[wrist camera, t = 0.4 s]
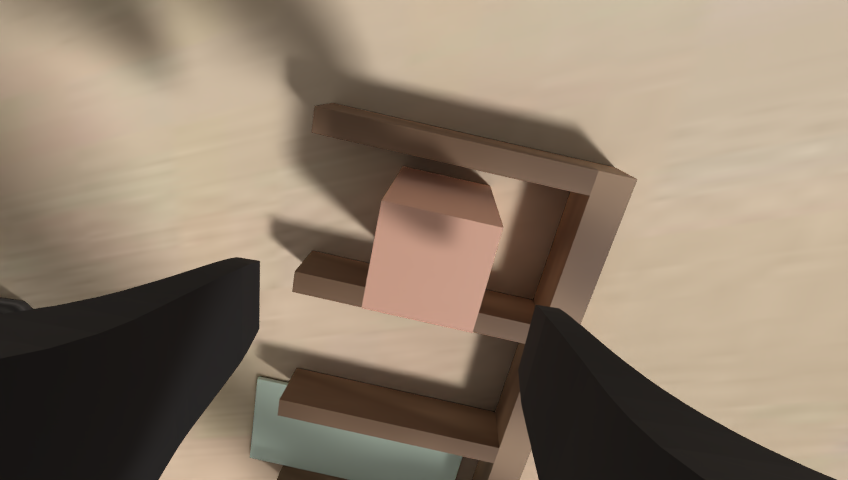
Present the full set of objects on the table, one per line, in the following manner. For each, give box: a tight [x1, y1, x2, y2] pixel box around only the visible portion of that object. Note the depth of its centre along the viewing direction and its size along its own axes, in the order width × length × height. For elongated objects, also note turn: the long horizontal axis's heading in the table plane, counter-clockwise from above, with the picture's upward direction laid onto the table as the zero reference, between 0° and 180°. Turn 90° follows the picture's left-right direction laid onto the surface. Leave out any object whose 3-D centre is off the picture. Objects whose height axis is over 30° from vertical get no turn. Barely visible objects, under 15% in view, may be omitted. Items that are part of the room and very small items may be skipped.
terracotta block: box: [362, 166, 503, 333], centre depth 18 cm, size 4×4×6 cm
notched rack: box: [250, 103, 637, 480], centre depth 21 cm, size 22×14×2 cm, turn 168°
